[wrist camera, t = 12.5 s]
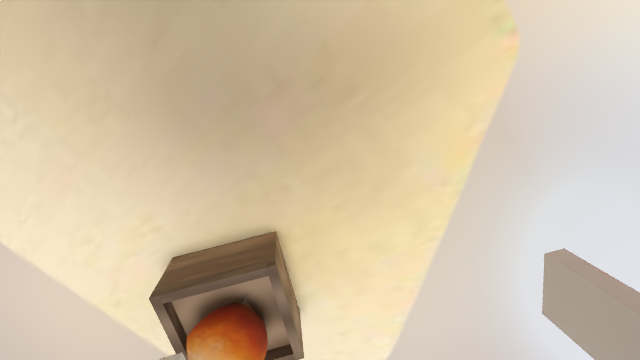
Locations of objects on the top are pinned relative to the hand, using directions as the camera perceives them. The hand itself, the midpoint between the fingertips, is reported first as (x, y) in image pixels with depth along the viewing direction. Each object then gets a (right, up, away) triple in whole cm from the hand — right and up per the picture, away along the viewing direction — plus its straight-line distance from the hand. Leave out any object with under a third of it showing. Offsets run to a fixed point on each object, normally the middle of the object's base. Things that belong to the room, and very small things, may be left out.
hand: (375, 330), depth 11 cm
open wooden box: (-12, -9, +29) cm, 33 cm away
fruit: (-12, -10, +24) cm, 29 cm away
